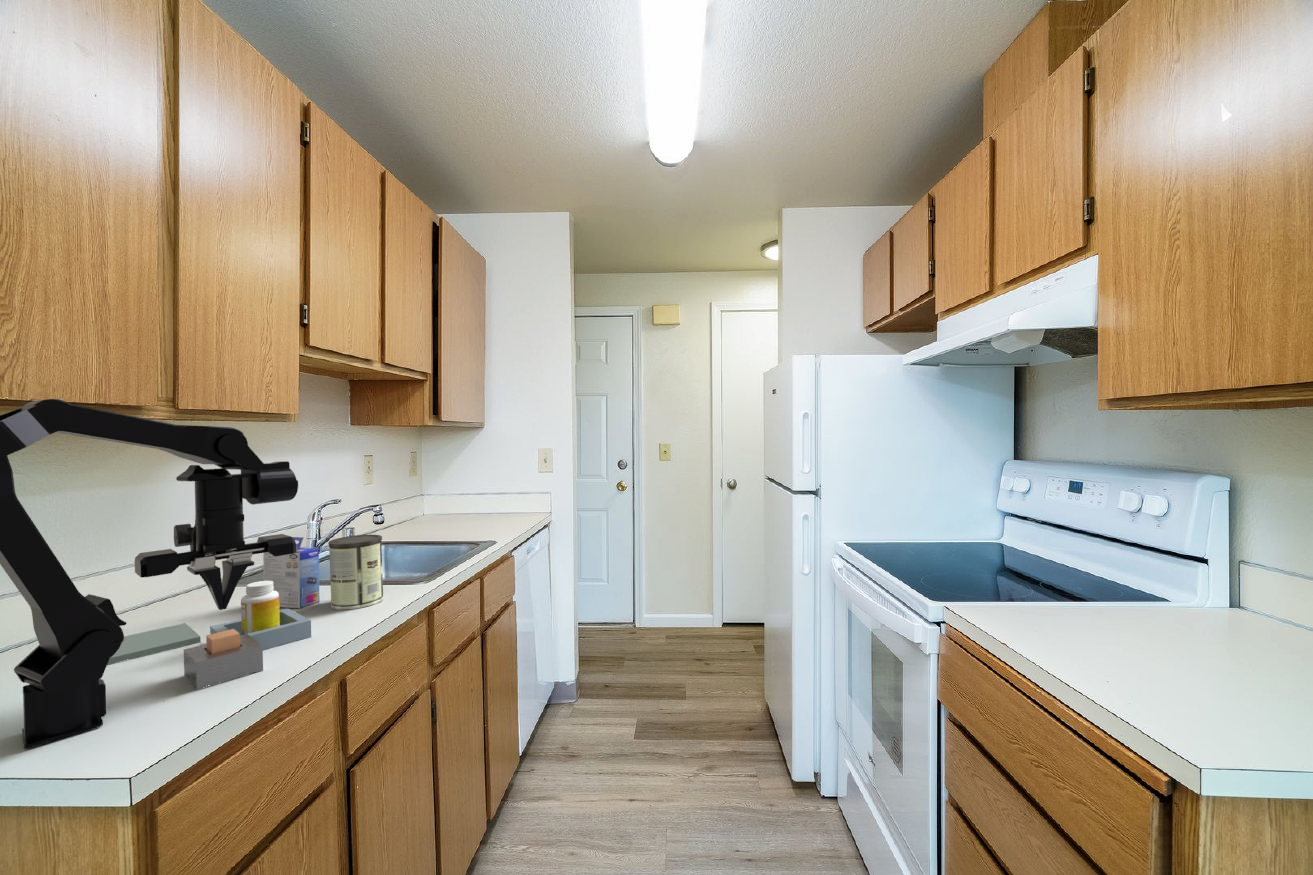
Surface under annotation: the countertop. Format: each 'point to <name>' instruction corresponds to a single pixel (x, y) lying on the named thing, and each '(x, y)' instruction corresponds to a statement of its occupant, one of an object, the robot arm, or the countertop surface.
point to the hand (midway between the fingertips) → (222, 609)
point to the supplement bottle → (259, 607)
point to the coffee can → (356, 571)
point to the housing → (274, 629)
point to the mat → (155, 642)
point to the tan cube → (222, 641)
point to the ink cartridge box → (294, 575)
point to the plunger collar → (222, 662)
